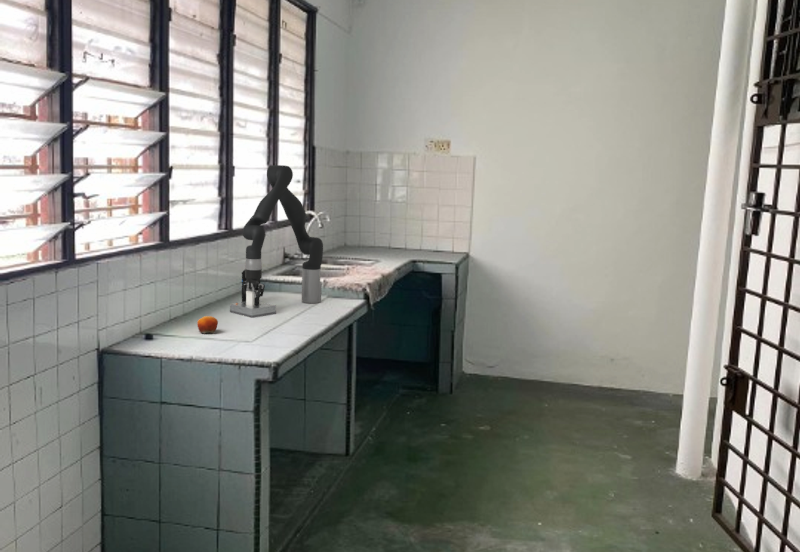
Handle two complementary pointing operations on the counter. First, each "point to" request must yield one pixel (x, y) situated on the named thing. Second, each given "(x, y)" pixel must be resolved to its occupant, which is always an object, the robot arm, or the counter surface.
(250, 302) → the white plain square block
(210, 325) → the fruit
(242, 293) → the aerosol can
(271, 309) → the socket
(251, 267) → the robot arm
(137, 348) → the counter surface
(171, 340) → the counter surface
